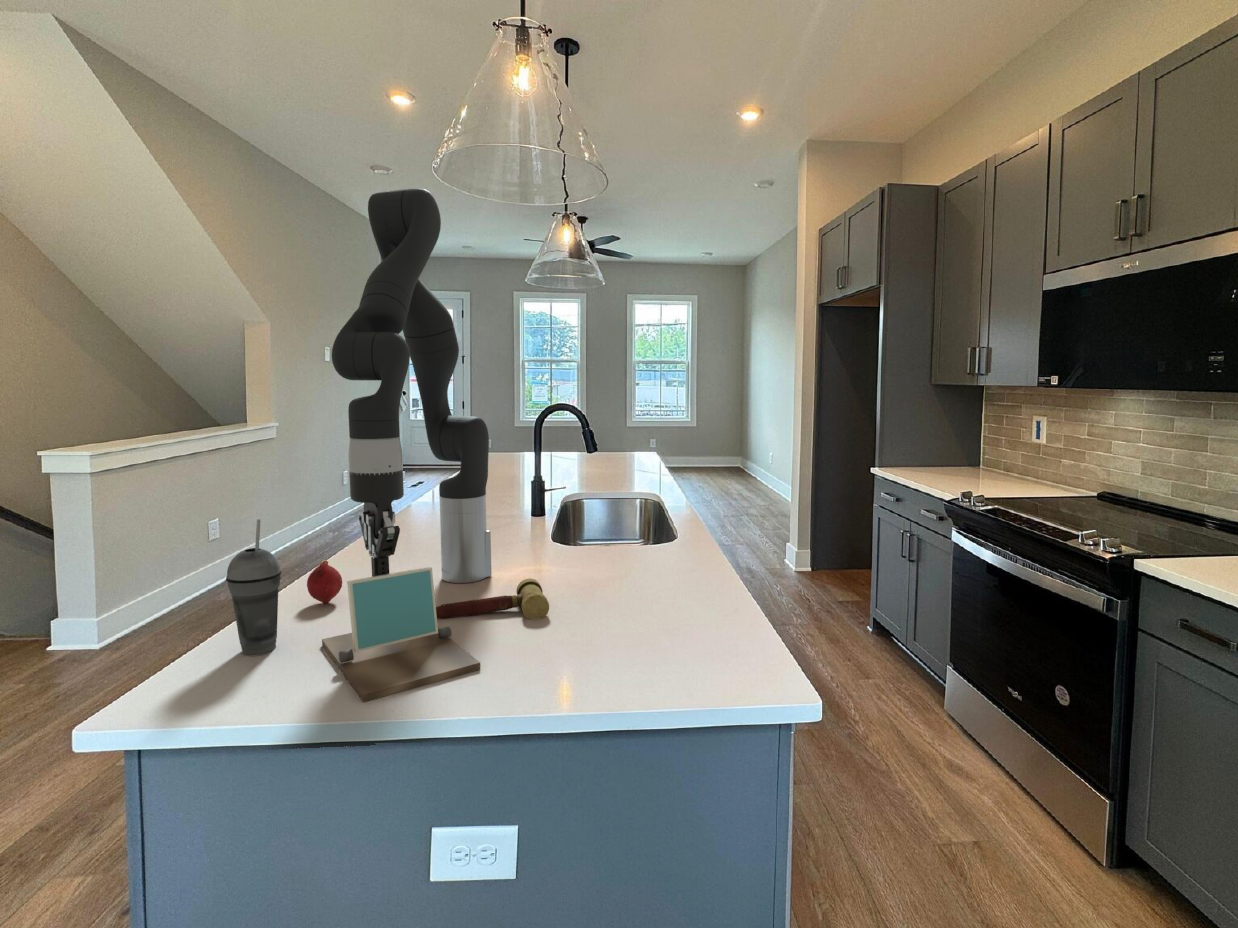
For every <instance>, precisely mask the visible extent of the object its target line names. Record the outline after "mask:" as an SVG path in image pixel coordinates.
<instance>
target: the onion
mask: <svg viewBox="0 0 1238 928" xmlns="http://www.w3.org/2000/svg"><path fill="white" fill-rule="evenodd" d="M306 587H307V588H306V589H307V592H308V594H309V595H310V597H312V598H313V600H314V599H315V600H317V601H318V602H319V603H323V604H328V603H330V602H331V601H332V600H333V599H334V598H335V597H337V595H338V594H339V593H340V591H341V589H342V588H343V578H342V575H341V574H340V572H339V571H338V570H337V569H336V568H334V567H333V566H331V565H329V561H328V560H327V559H324V560H322V561H320V563H319V565H318V566H317V567H315V568H314V569H313V570H312V572H311V573H310V574H309V575H308V578H307V581H306Z"/></svg>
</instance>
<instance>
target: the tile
mask: <svg viewBox="0 0 1238 928" xmlns="http://www.w3.org/2000/svg"><path fill="white" fill-rule="evenodd" d="M346 585H347V593H348V606H349V616H350V624H351V625H350V626H351V633H352V638H353V649H354V652H360V651H364V650H369V649H373V648H377V647H381V646H386V645H390V644H394V643H398V642H403V641H407V640H411V639H415V638H420V637H424V636H428V635H432V634H437V633H438V629H439V627H438V618H437V615H436V607H437V606H436V597H435V585H434V575H433V567H432V566H426V567H422V568H415V569H409V570H403V571H398V572H392V573H389V574H385V575H379V576H373V577H372V576H370V577H369V576H368V577H363V578H356V579H352V580H351V579H350V580H346Z"/></svg>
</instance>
